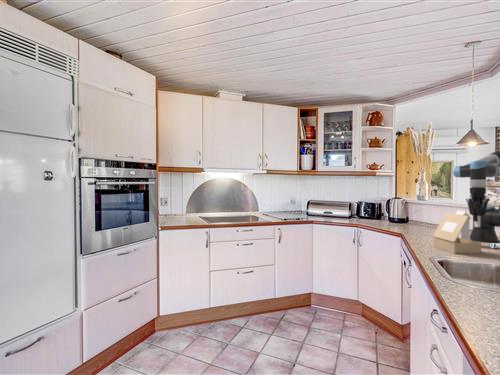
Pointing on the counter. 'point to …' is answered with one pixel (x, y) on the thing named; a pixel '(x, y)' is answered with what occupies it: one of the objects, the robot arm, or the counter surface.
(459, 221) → the lid
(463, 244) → the base
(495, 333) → the counter surface
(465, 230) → the milk
